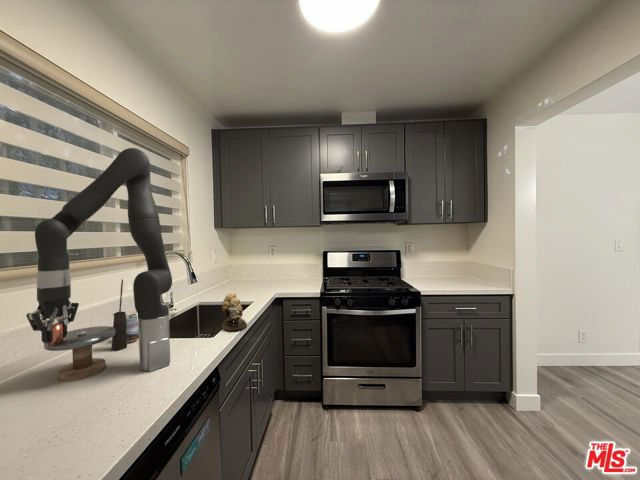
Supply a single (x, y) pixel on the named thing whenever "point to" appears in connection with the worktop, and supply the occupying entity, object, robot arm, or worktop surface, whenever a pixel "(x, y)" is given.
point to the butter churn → (119, 328)
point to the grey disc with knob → (77, 337)
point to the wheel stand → (82, 365)
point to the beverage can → (132, 327)
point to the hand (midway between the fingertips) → (54, 339)
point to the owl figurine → (233, 313)
